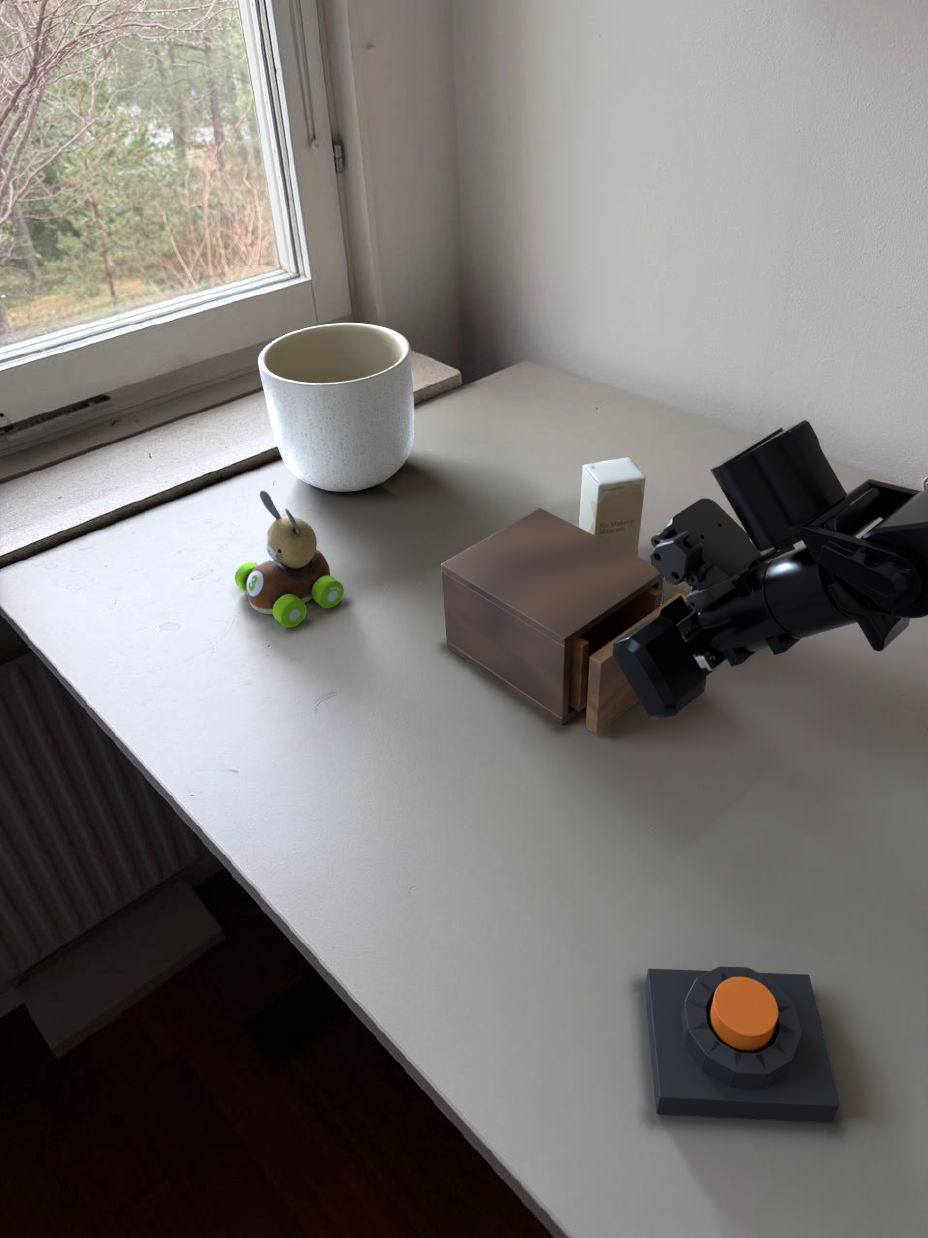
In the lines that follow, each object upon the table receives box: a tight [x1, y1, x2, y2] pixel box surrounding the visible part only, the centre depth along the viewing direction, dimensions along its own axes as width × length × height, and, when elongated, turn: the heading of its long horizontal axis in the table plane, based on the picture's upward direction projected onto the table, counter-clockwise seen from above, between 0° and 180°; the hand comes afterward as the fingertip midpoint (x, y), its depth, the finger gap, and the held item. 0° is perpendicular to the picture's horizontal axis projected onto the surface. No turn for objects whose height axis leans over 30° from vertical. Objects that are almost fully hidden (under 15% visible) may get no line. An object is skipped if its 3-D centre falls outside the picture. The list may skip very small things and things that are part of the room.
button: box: [710, 977, 778, 1051], centre depth 54 cm, size 4×4×2 cm
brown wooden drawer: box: [568, 587, 689, 735], centre depth 81 cm, size 15×11×8 cm
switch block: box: [644, 965, 841, 1124], centre depth 56 cm, size 10×8×4 cm
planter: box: [257, 322, 415, 493], centre depth 109 cm, size 17×17×15 cm
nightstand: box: [440, 507, 665, 726], centre depth 84 cm, size 15×13×10 cm
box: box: [578, 456, 647, 557], centre depth 94 cm, size 5×4×11 cm
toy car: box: [234, 490, 345, 628], centre depth 91 cm, size 9×9×11 cm
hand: (649, 644), depth 76 cm, fingers closed, pressing on brown wooden drawer
